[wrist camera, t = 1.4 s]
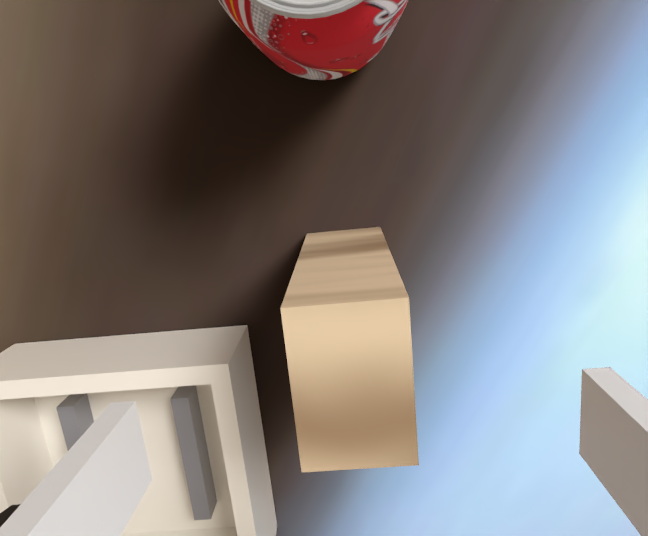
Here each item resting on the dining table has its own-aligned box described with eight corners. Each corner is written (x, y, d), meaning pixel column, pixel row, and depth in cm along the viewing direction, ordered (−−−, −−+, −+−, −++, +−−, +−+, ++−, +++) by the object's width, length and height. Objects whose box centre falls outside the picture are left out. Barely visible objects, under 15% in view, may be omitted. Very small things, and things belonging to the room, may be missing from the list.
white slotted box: (14, 343, 29) (-50, 384, 25) (247, 324, 29) (228, 363, 24) (69, 537, 33) (22, 606, 28) (277, 526, 32) (265, 595, 27)
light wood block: (306, 233, 27) (280, 308, 15) (380, 227, 27) (408, 297, 15) (317, 335, 29) (301, 472, 17) (387, 329, 28) (418, 465, 17)
